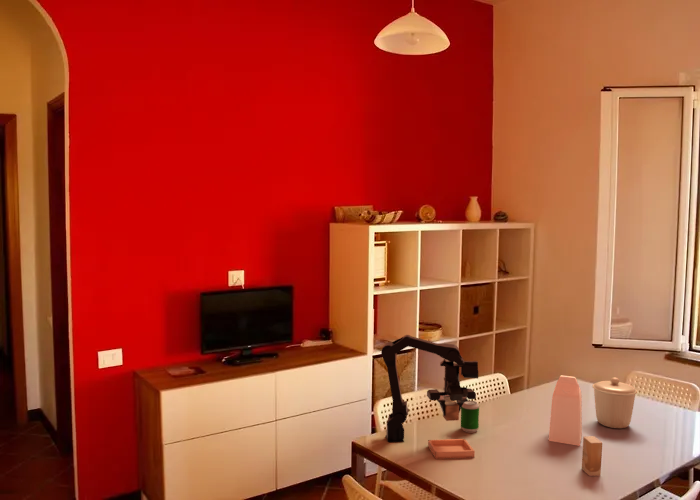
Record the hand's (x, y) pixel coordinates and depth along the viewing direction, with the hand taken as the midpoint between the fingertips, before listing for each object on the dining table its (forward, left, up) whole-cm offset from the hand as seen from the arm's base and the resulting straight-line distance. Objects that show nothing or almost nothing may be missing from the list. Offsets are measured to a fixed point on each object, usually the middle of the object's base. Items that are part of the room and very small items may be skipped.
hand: (450, 415), depth 238 cm
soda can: (+12, +14, -12) cm, 22 cm away
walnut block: (0, 0, -1) cm, 1 cm away
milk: (+49, +2, -12) cm, 51 cm away
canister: (+78, +16, -12) cm, 81 cm away
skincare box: (+43, -30, -12) cm, 54 cm away
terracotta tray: (-2, -8, -12) cm, 14 cm away
